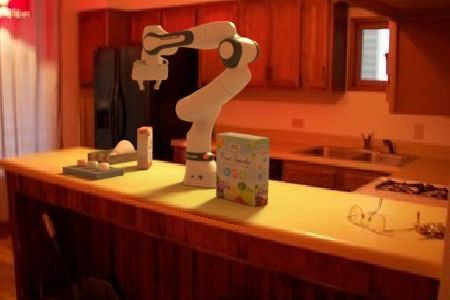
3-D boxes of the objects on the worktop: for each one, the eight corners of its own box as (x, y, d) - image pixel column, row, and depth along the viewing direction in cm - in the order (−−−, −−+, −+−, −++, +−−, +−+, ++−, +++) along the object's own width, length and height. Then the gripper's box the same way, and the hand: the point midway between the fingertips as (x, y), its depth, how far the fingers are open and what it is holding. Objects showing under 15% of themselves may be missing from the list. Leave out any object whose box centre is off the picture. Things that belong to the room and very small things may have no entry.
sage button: (100, 170, 240) (100, 161, 239) (92, 172, 236) (91, 163, 235) (93, 169, 243) (93, 160, 242) (85, 170, 239) (85, 162, 238)
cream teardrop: (105, 146, 267) (125, 136, 282) (95, 158, 273) (114, 147, 288) (119, 162, 267) (138, 151, 282) (108, 174, 273) (127, 162, 288)
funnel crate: (142, 159, 284) (142, 151, 283) (107, 165, 264) (107, 156, 263) (122, 156, 294) (122, 148, 293) (87, 161, 274) (87, 152, 273)
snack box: (213, 197, 197) (214, 133, 194) (229, 193, 203) (230, 131, 200) (254, 207, 182) (255, 138, 178) (269, 203, 188) (271, 136, 184)
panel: (123, 175, 238) (123, 169, 238) (97, 180, 226) (97, 173, 225) (89, 168, 254) (89, 162, 253) (62, 173, 241) (62, 167, 241)
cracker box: (148, 169, 254) (148, 129, 251) (136, 169, 254) (136, 129, 251) (153, 165, 267) (152, 126, 264) (141, 164, 268) (141, 126, 265)
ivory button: (111, 172, 235) (111, 163, 235) (103, 174, 231) (102, 165, 231) (104, 171, 238) (104, 162, 238) (96, 173, 234) (95, 163, 234)
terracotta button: (89, 168, 245) (89, 160, 244) (81, 170, 241) (81, 161, 240) (83, 167, 248) (83, 158, 247) (75, 168, 244) (75, 160, 243)
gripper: (138, 60, 223) (137, 91, 226) (170, 61, 238) (168, 89, 242) (129, 59, 226) (128, 89, 230) (161, 59, 242) (159, 87, 245)
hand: (149, 89), depth 236 cm, fingers open, 8 cm apart
